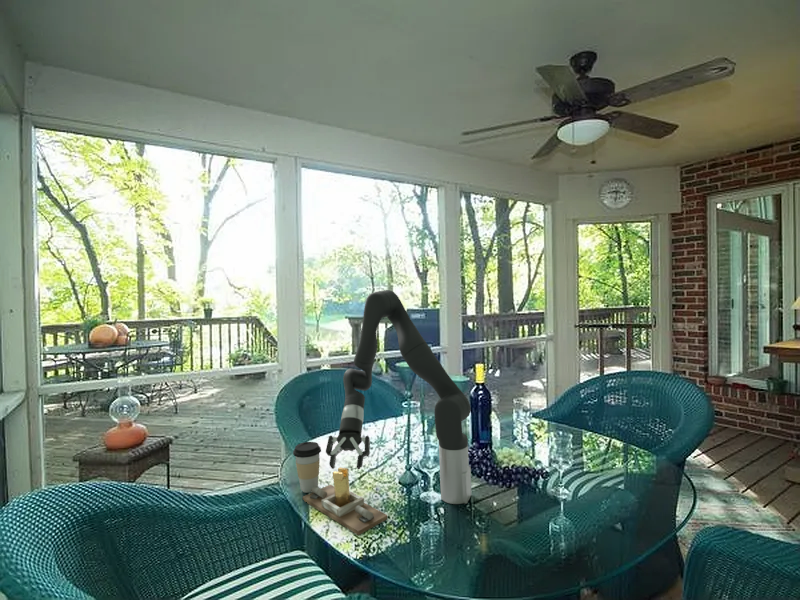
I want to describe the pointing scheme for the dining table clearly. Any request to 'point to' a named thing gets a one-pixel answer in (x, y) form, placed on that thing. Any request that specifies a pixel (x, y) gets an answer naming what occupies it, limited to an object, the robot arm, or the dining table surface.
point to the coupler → (341, 487)
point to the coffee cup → (307, 464)
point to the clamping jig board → (345, 509)
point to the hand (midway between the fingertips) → (345, 468)
